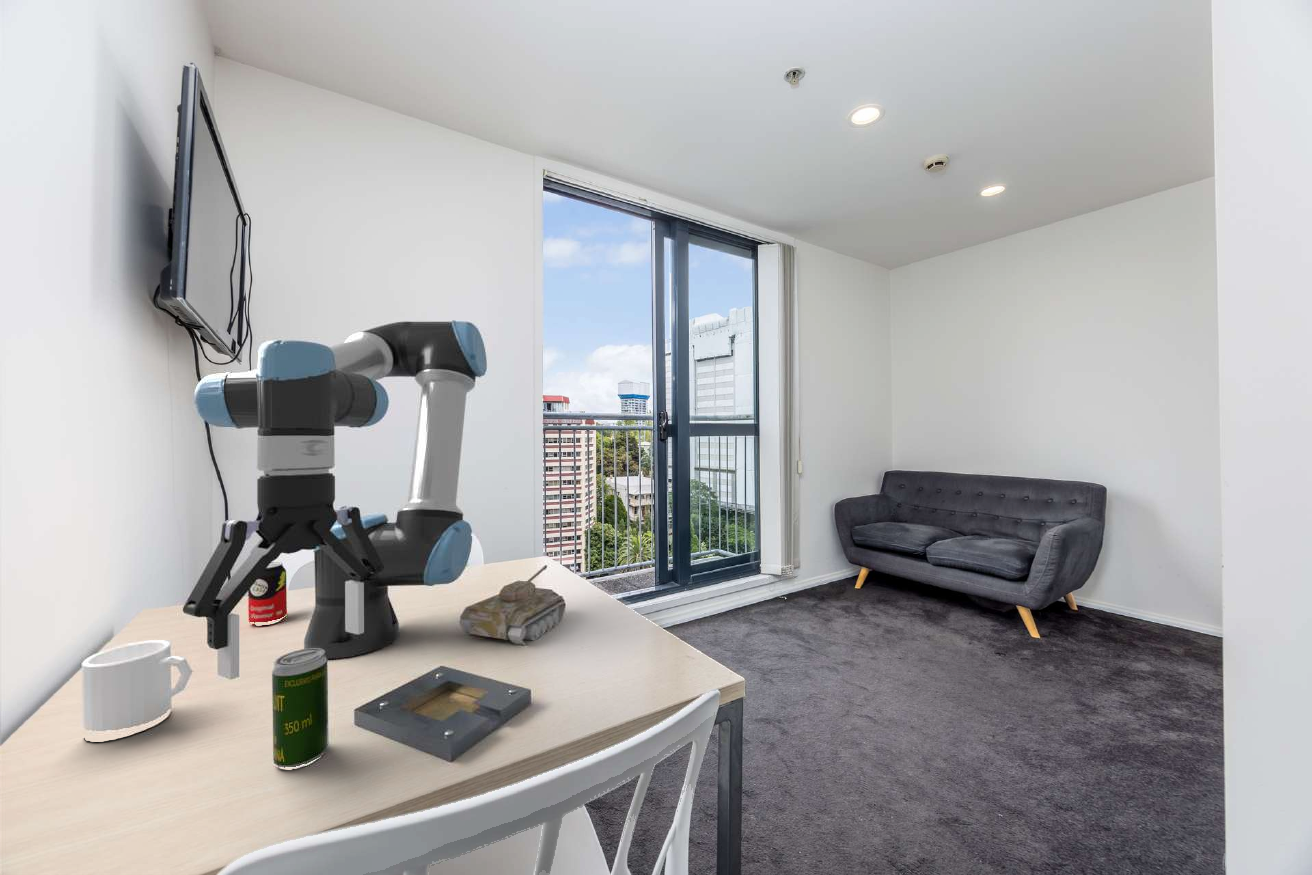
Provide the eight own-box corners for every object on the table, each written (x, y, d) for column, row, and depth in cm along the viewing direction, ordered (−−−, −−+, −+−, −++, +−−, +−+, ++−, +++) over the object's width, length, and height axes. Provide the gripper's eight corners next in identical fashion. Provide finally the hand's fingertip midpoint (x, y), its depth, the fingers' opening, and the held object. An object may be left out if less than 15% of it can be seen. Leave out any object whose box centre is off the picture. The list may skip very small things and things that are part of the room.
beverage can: (244, 623, 104) (243, 566, 104) (280, 614, 109) (279, 559, 109) (255, 630, 100) (254, 570, 100) (291, 620, 105) (291, 563, 105)
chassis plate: (354, 724, 66) (354, 707, 66) (441, 678, 79) (441, 664, 79) (451, 761, 58) (450, 742, 58) (531, 703, 71) (530, 688, 71)
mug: (164, 740, 63) (163, 662, 63) (63, 745, 62) (62, 666, 62) (216, 706, 71) (215, 637, 71) (127, 710, 71) (126, 640, 71)
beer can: (320, 738, 63) (319, 643, 63) (335, 755, 60) (333, 655, 60) (267, 759, 59) (266, 658, 59) (280, 778, 56) (278, 671, 56)
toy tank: (455, 640, 94) (454, 587, 94) (520, 606, 113) (519, 562, 113) (522, 651, 89) (521, 595, 89) (579, 613, 108) (578, 567, 108)
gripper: (175, 480, 47) (175, 709, 46) (411, 467, 69) (412, 622, 69) (140, 478, 50) (139, 692, 49) (376, 467, 72) (377, 614, 72)
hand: (298, 651), depth 59 cm, fingers open, 13 cm apart
